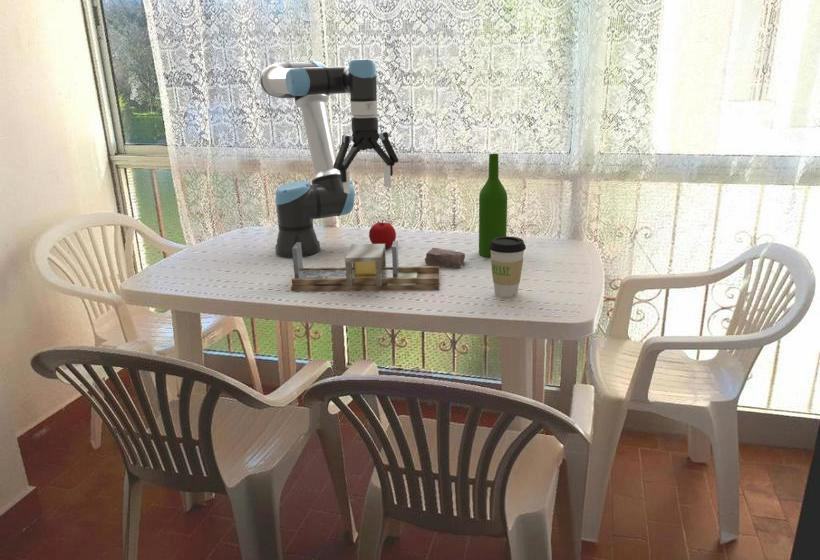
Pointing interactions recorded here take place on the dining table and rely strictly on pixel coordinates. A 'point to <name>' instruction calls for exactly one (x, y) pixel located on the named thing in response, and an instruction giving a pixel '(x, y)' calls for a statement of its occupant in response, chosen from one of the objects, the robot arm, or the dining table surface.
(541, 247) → the dining table surface
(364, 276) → the grey u-shaped piece
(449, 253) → the stone
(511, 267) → the coffee cup
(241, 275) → the dining table surface
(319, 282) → the tunnel board
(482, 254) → the wine bottle
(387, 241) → the apple
